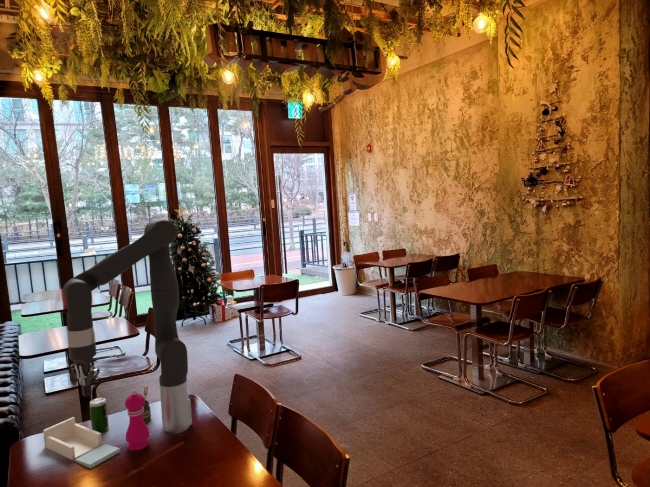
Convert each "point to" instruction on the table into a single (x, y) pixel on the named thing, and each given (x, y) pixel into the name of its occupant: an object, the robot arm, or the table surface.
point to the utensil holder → (146, 408)
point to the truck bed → (71, 438)
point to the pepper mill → (136, 422)
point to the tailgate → (96, 455)
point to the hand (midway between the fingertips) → (86, 395)
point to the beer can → (99, 415)
